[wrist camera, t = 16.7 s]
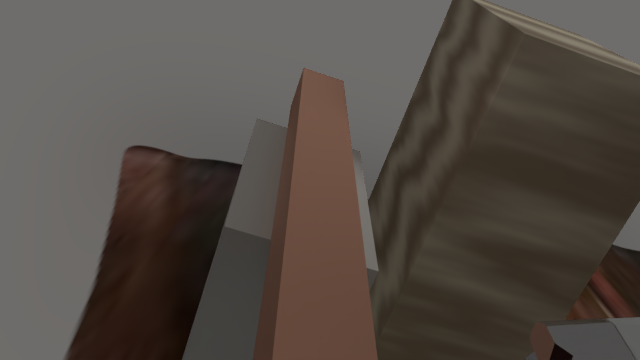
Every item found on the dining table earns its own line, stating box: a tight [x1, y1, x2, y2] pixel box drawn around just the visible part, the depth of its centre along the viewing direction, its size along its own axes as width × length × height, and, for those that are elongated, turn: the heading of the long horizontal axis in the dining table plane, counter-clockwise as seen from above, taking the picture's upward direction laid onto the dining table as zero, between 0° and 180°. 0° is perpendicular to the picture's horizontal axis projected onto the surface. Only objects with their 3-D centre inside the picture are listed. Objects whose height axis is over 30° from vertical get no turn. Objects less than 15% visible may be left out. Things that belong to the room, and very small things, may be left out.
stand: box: [368, 0, 640, 360], centre depth 42 cm, size 18×12×26 cm, turn 0°
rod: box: [253, 68, 378, 360], centre depth 25 cm, size 25×2×2 cm, turn 0°
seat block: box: [182, 119, 379, 360], centre depth 31 cm, size 12×6×17 cm, turn 0°
